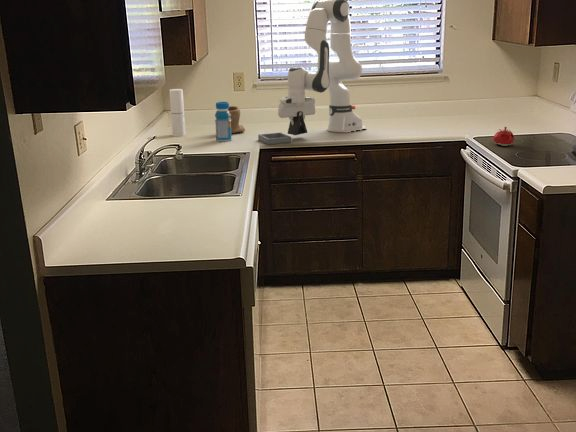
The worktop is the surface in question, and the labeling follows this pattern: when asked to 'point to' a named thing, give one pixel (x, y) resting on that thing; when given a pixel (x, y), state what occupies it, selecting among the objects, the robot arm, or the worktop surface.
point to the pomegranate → (504, 137)
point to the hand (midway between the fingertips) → (297, 124)
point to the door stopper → (297, 125)
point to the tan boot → (235, 120)
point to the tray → (274, 138)
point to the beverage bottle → (223, 122)
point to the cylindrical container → (177, 112)
